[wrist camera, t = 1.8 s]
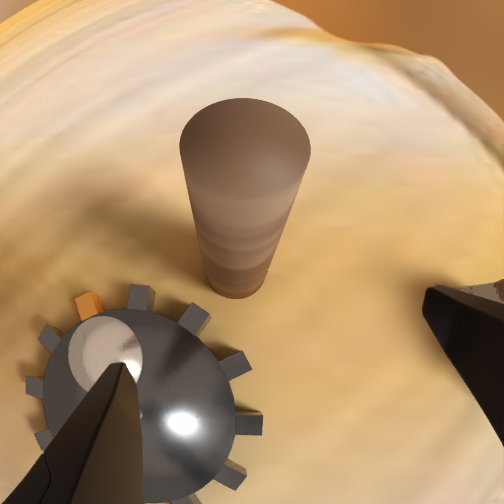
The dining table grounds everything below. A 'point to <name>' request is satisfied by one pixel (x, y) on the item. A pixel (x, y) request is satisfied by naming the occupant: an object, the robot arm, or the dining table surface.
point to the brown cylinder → (242, 187)
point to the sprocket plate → (153, 390)
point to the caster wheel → (488, 291)
